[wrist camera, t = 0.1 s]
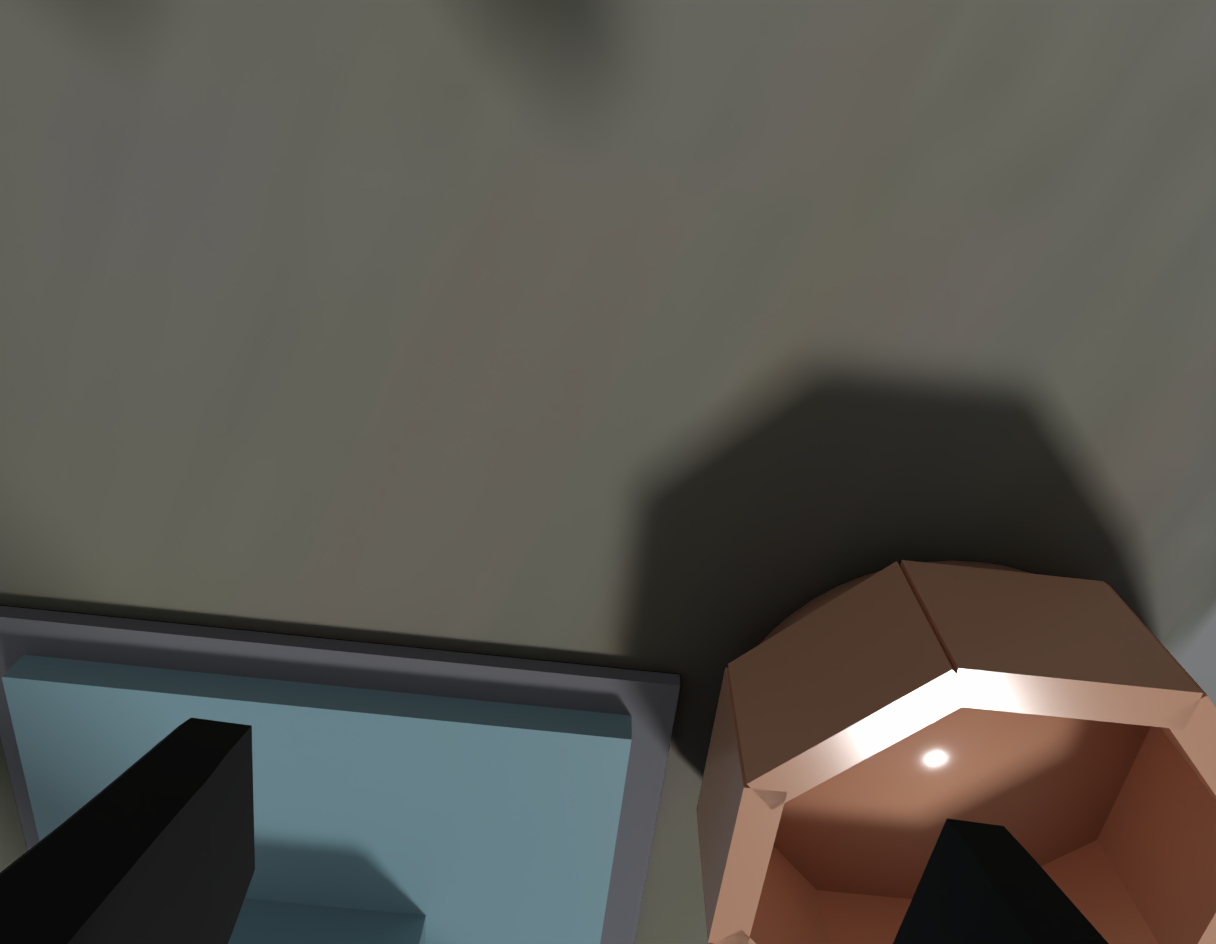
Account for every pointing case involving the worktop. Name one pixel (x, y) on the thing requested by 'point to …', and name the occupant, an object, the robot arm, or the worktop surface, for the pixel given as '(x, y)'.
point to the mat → (386, 668)
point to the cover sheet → (361, 798)
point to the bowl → (957, 757)
